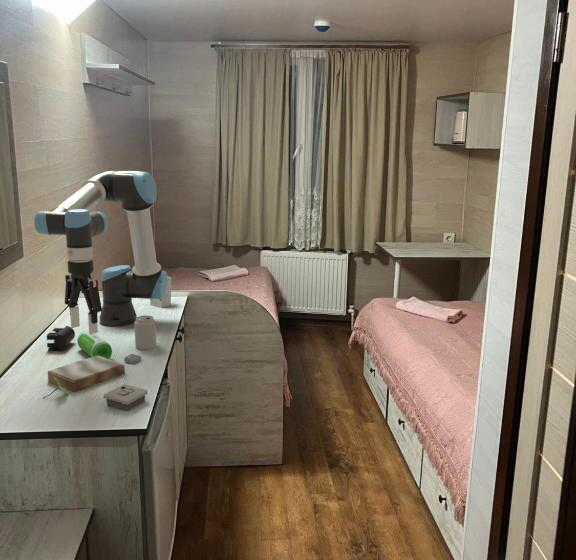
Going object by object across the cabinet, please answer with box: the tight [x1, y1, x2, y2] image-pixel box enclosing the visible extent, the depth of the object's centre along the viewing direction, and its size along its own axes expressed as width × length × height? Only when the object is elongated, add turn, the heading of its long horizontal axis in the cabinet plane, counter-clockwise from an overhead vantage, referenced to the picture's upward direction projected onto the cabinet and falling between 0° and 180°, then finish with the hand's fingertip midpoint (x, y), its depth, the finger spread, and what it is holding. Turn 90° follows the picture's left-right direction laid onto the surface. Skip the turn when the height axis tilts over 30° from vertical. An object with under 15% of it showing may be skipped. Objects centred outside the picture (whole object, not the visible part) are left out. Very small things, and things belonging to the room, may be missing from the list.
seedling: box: [42, 377, 70, 399], centre depth 186 cm, size 7×8×7 cm
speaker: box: [76, 330, 113, 360], centre depth 221 cm, size 18×7×8 cm, turn 37°
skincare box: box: [149, 276, 172, 309], centre depth 282 cm, size 8×6×15 cm
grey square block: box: [124, 353, 142, 365], centre depth 215 cm, size 4×4×2 cm
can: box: [133, 315, 157, 351], centre depth 228 cm, size 8×8×12 cm
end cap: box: [46, 325, 76, 352], centre depth 229 cm, size 10×7×7 cm
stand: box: [47, 355, 126, 394], centre depth 200 cm, size 19×14×4 cm
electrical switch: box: [103, 383, 149, 412], centre depth 181 cm, size 9×5×9 cm
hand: (84, 329), depth 197 cm, fingers open, 9 cm apart
